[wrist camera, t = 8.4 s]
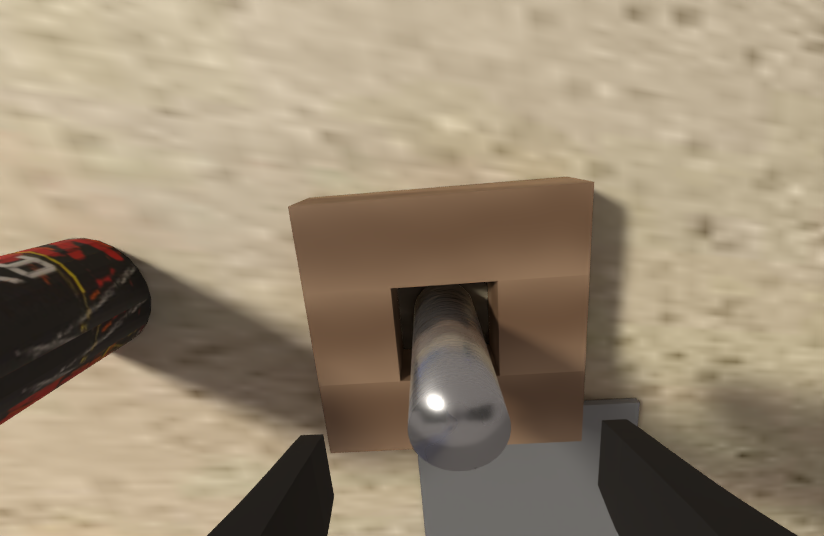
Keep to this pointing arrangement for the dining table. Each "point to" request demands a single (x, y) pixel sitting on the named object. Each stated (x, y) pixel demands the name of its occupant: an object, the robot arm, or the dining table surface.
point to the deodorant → (63, 315)
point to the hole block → (440, 265)
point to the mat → (528, 486)
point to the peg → (453, 384)
